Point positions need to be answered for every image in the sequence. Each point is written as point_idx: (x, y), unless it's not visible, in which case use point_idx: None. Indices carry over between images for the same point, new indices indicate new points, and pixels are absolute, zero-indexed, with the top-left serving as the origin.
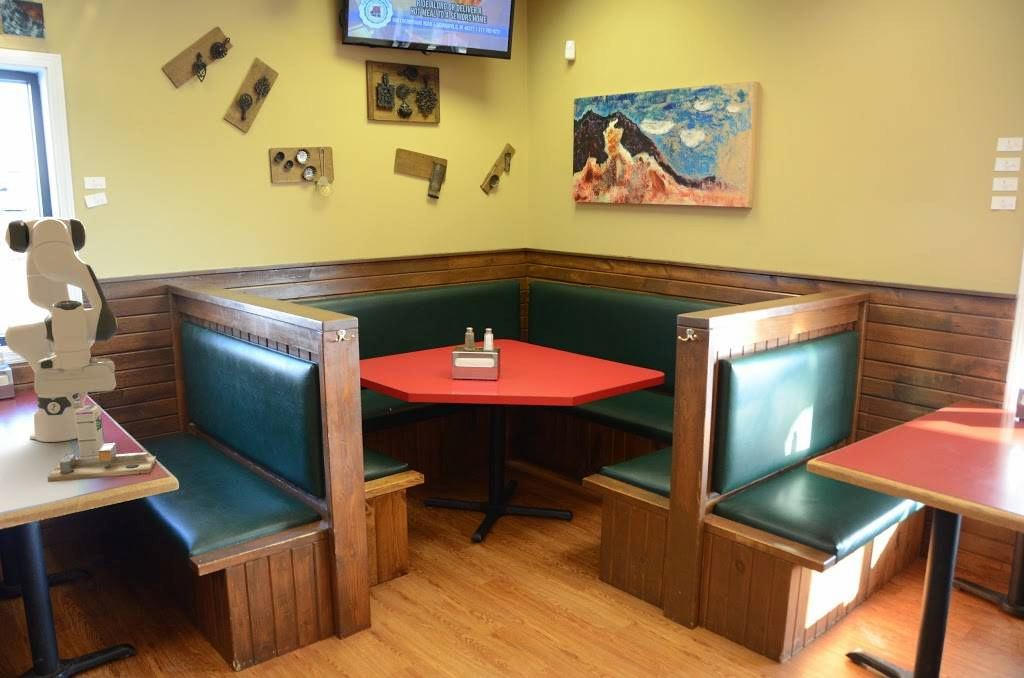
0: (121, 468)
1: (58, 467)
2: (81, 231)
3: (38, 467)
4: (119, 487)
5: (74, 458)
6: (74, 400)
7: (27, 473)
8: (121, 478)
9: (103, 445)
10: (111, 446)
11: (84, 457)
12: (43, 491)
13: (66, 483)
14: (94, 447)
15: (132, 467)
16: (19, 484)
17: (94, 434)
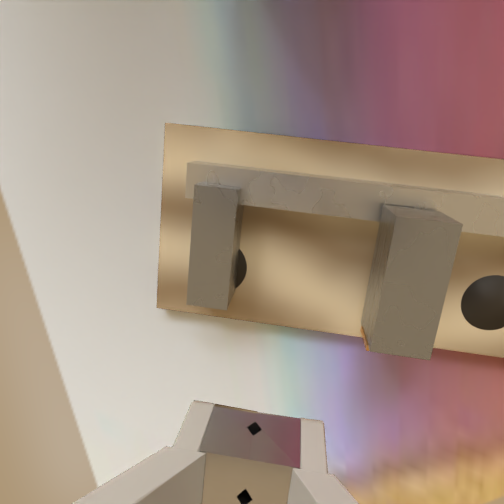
0: (443, 312)
1: (172, 185)
2: None
3: (77, 79)
4: (423, 473)
5: (238, 211)
6: (195, 467)
7: (56, 158)
8: (433, 379)
9: (392, 255)
10: (437, 295)
11: (280, 181)
12: (171, 406)
13: (234, 353)
14: None
15: (491, 319)
16: (69, 295)
17: None
